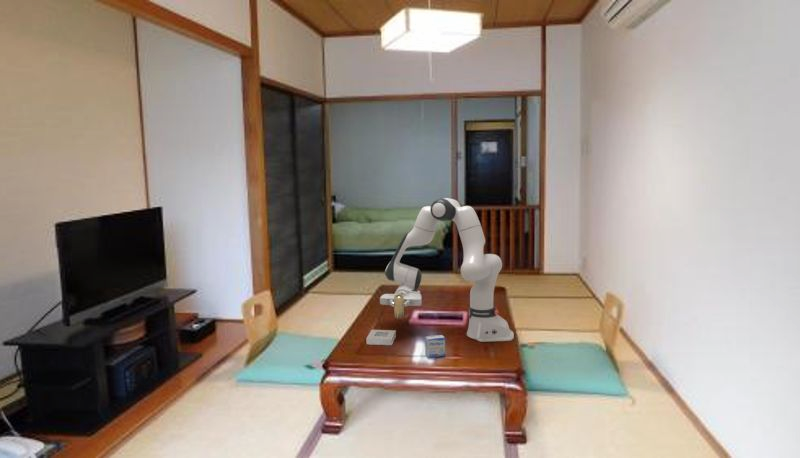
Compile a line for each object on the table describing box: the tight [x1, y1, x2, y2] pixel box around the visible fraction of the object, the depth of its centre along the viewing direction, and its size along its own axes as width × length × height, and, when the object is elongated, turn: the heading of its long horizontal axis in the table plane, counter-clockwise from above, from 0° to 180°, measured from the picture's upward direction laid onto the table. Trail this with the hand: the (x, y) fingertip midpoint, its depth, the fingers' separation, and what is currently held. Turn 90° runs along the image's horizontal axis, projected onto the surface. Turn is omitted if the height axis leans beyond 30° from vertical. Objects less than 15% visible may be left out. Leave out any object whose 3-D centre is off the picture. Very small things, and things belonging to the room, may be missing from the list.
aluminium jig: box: [365, 329, 397, 346], centre depth 261 cm, size 12×12×3 cm
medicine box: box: [424, 334, 446, 359], centre depth 241 cm, size 8×4×9 cm, turn 105°
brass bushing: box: [393, 295, 405, 319], centre depth 260 cm, size 4×4×10 cm
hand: (398, 304), depth 259 cm, fingers closed on brass bushing, 4 cm apart
